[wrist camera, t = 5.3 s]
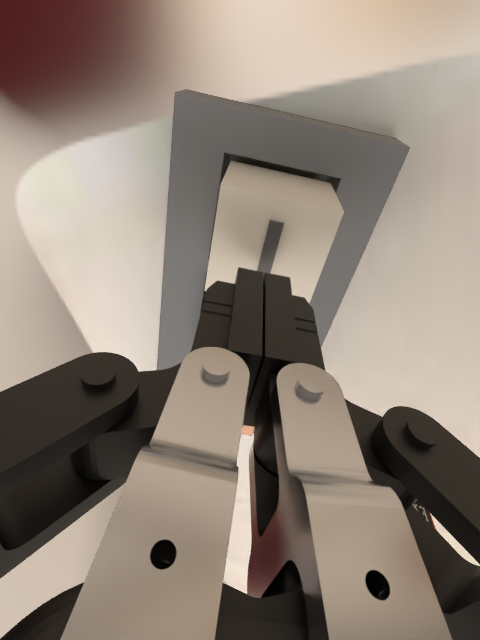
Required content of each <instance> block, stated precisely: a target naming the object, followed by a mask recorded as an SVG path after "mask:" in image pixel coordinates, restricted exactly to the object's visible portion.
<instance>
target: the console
mask: <svg viewBox="0 0 480 640" xmlns="http://www.w3.org/2000/svg"><path fill="white" fill-rule="evenodd" d="M409 149H410V147H409V146H407V145H405V144H404V143H402V142H400V141H399V140H397V139H396V138H392V137H387V136H383V135H379V134H375V133H370V132H366V131H362V130H358V129H353V128H349V127H345V126H340V125H336V124H332V123H328V122H323V121H319V120H315V119H310V118H306V117H302V116H298V115H293V114H289V113H285V112H281V111H276V110H272V109H268V108H263V107H259V106H255V105H251V104H246V103H242V102H238V101H233V100H229V99H225V98H221V97H216V96H212V95H208V94H204V93H199V92H195V91H191V90H182V91H179V92H176V93H175V100H174V115H173V130H172V146H171V161H170V176H169V192H168V207H167V223H166V238H165V253H164V269H163V284H162V300H161V315H160V330H159V346H158V361H157V370H163V369H167V368H171V367H173V366H176V365H177V364H179V363H181V362H182V361H183V360H184V358H185V357H186V356H187V355H188V354H189V353H190V351H191V349H192V345H193V341H194V337H195V334H196V330H197V326H198V322H199V318H200V314H201V311H202V307H203V303H204V299H205V295H206V291H204V290H205V283H206V277H207V270H208V264H209V257H210V251H211V244H212V237H213V231H214V224H215V218H216V211H217V205H218V198H219V191H220V185H221V182H222V180H223V178H224V175H225V169H226V162H227V156H228V153H230V154H234V155H239V156H243V157H247V158H252V159H256V160H261V161H265V162H270V163H274V164H278V165H283V166H287V167H292V168H296V169H301V170H305V171H309V172H314V173H318V174H323V175H327V176H331V178H330V181H329V183H331V185H332V187H333V189H334V191H335V193H336V195H337V197H338V200H339V202H340V204H341V206H342V208H343V210H344V214H343V216H342V219H341V222H340V224H339V227H338V229H337V232H336V235H335V237H334V240H333V243H332V245H331V248H330V250H329V253H328V256H327V258H326V261H325V264H324V266H323V269H322V272H321V274H320V277H319V279H318V282H317V285H316V287H315V290H314V293H313V295H312V298H311V301H310V303H309V304H310V306H311V307H312V308H313V310H314V315H315V320H316V322H315V324H316V326H317V331H318V332H317V334H318V336H319V341H320V347H321V346H322V344H323V342H324V340H325V337H326V335H327V333H328V331H329V328H330V326H331V324H332V322H333V319H334V317H335V315H336V313H337V310H338V308H339V306H340V304H341V301H342V299H343V297H344V295H345V293H346V290H347V288H348V286H349V284H350V281H351V279H352V277H353V275H354V272H355V270H356V268H357V266H358V263H359V261H360V259H361V257H362V254H363V252H364V250H365V248H366V245H367V243H368V241H369V239H370V236H371V234H372V232H373V230H374V227H375V225H376V223H377V221H378V219H379V216H380V214H381V212H382V210H383V207H384V205H385V203H386V201H387V198H388V196H389V194H390V192H391V189H392V187H393V185H394V183H395V180H396V178H397V176H398V174H399V171H400V169H401V167H402V165H403V162H404V160H405V158H406V156H407V153H408V151H409ZM253 433H254V431H253Z"/></svg>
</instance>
